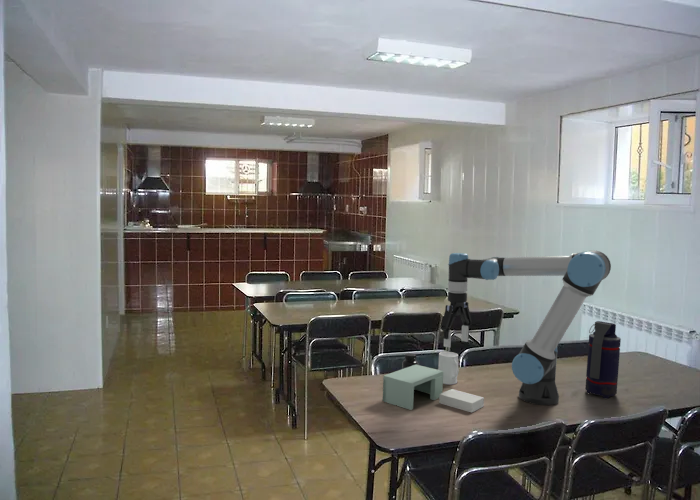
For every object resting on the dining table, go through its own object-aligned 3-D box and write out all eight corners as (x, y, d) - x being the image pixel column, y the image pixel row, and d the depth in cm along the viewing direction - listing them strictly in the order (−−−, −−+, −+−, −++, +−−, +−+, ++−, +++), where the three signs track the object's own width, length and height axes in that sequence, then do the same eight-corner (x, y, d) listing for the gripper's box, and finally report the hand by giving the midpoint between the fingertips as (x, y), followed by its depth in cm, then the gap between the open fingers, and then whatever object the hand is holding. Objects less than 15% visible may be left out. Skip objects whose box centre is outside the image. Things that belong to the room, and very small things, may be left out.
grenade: (592, 387, 249) (597, 318, 246) (621, 394, 240) (626, 323, 238) (578, 394, 239) (583, 322, 237) (607, 402, 231) (613, 327, 228)
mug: (464, 386, 245) (466, 358, 244) (446, 387, 242) (447, 359, 241) (451, 377, 256) (452, 351, 255) (433, 379, 253) (434, 352, 252)
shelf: (443, 396, 231) (444, 371, 230) (411, 410, 214) (413, 383, 213) (414, 388, 240) (415, 364, 239) (382, 401, 223) (383, 375, 222)
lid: (483, 406, 221) (484, 397, 221) (471, 412, 214) (472, 403, 214) (451, 397, 230) (451, 388, 230) (439, 403, 223) (439, 394, 223)
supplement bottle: (419, 381, 249) (421, 353, 248) (414, 385, 243) (416, 357, 242) (404, 378, 252) (405, 351, 251) (399, 383, 246) (400, 355, 245)
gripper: (465, 287, 246) (463, 337, 247) (432, 293, 227) (431, 347, 229) (481, 289, 241) (479, 340, 242) (449, 296, 222) (447, 351, 224)
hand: (456, 344), depth 236 cm, fingers open, 13 cm apart
